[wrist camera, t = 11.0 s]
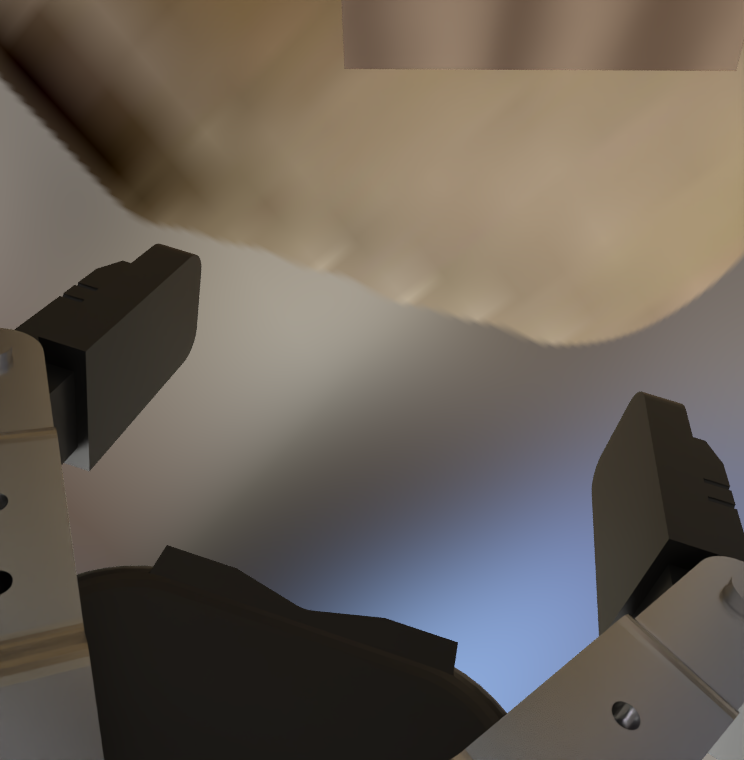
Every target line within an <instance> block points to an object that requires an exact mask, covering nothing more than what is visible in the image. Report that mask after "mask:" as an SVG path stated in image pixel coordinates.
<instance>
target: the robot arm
mask: <svg viewBox="0 0 744 760" xmlns="http://www.w3.org/2000/svg"><path fill="white" fill-rule="evenodd" d="M200 279H201V261H200V258H199V256H197V255H195V254H191V253H188V252H185V251H182V250H178V249H175V248H172V247H169V246H165V245H162V244H155V245H154V246H153V247H151V248H150V249H149V250H148V251H146V252H145V253H144V254H142V255H141V256H140V257H138V258H137V259H136V260H135V261H133V262H132V263H128V262H125V261H120V262H117V263H114V264H111V265H108V266H104V267H101V268H98V269H96V270H94V271H93V272H92V273H90V274H89V275H88V276H86V277H85V278H84V279H82V280H81V281H80V282H78V285H77V286H76V285H74V286H73V287H71V288H70V289H69V290H67V291H66V292H65V293H64V295H63V297H61V296H59V297H58V298H57V299H55V300H54V301H52V302H51V303H50V304H48V305H47V306H46V307H44V308H43V309H42V310H40V311H39V312H38V313H37V314H35V315H34V316H32V317H31V318H30V319H28V320H27V321H26V322H24V323H23V324H21V325H20V326H19V327H18V328H16V329H15V330H11V329H4V328H0V760H702V759H703V758H704V757H705V755H706V754H707V753H709V754H710V755H712V756H713V757H715V758H716V759H718V760H744V532H743V529H742V525H741V522H740V518H739V515H738V512H737V509H734V506H735V502H734V498H733V495H732V491H730V490H729V487H730V485H729V481H728V478H727V475H726V472H725V468H724V465H723V463H722V462H721V460H720V459H719V458H718V457H717V455H716V454H715V453H714V451H713V450H712V449H711V447H710V446H709V445H708V444H707V442H706V441H704V440H701V439H697V438H694V437H693V436H692V432H691V428H690V424H689V420H688V416H687V412H686V409H685V406H684V405H683V404H680V403H677V402H674V401H671V400H667V399H664V398H661V397H657V396H654V395H651V394H647V393H644V392H638V393H636V394H635V395H634V397H633V398H632V399H631V401H630V403H629V405H628V406H627V408H626V410H625V412H624V414H623V416H622V418H621V420H620V421H619V423H618V425H617V427H616V429H615V431H614V432H613V434H612V436H611V438H610V440H609V442H608V444H607V445H606V448H605V449H604V451H603V453H602V455H601V457H600V459H599V461H598V464H597V466H596V469H595V473H594V477H593V482H592V507H593V526H594V546H595V565H596V583H597V584H596V585H597V604H598V622H599V637H598V638H597V639H596V640H594V641H593V642H592V643H591V644H589V645H588V646H587V647H586V648H585V649H584V650H582V651H581V652H580V653H579V654H577V655H576V656H575V657H574V658H573V659H572V660H570V661H569V662H568V663H567V664H566V665H564V666H563V667H562V668H561V669H560V670H559V671H557V672H556V673H555V674H554V675H553V676H551V677H550V678H549V679H548V680H547V681H545V682H544V683H543V684H542V685H541V686H539V687H538V688H537V689H536V690H535V691H533V692H532V693H531V694H530V695H529V696H527V697H526V698H525V699H524V700H523V701H522V702H520V703H519V704H518V705H517V706H516V707H514V708H513V709H512V710H511V711H510V712H508V713H506V712H505V710H504V709H503V708H502V707H501V706H500V705H499V703H498V702H497V701H496V700H495V699H494V698H493V697H492V696H491V695H490V694H489V693H488V692H487V691H486V690H484V689H483V688H482V687H481V686H480V685H479V684H477V683H476V682H475V681H474V680H472V679H471V678H470V677H468V676H467V675H466V674H464V673H462V672H461V671H460V670H458V669H456V668H455V667H454V665H455V658H456V652H457V645H458V642H455V641H452V640H449V639H446V638H443V637H440V636H437V635H434V634H431V633H428V632H425V631H422V630H419V629H416V628H413V627H410V626H407V625H404V624H401V623H398V622H395V621H392V620H389V619H386V618H379V617H369V616H360V615H350V614H340V613H330V612H320V611H311V610H306V609H303V608H301V607H299V606H297V605H295V604H294V603H292V602H290V601H289V600H287V599H285V598H284V597H282V596H281V595H279V594H277V593H276V592H274V591H272V590H271V589H269V588H268V587H266V586H264V585H263V584H261V583H259V582H257V581H256V580H254V579H253V578H251V577H250V576H248V575H246V574H245V573H243V572H242V571H240V570H238V569H237V568H233V567H231V566H227V565H224V564H222V563H219V562H216V561H212V560H210V559H207V558H204V557H201V556H198V555H194V554H192V553H189V552H186V551H183V550H180V549H177V548H174V547H171V546H168V545H167V546H166V547H165V549H164V551H163V552H162V554H161V555H160V557H159V558H158V560H157V562H156V563H155V565H154V566H119V567H108V568H103V569H97V570H93V571H88V572H84V573H81V574H78V575H77V574H76V567H75V560H74V552H73V546H72V538H71V531H70V523H69V516H68V509H67V502H66V495H65V487H64V480H63V473H62V464H63V463H66V464H69V465H72V466H75V467H78V468H81V469H84V470H87V471H90V470H91V469H92V468H93V467H94V465H95V464H96V463H97V462H98V461H99V460H100V459H101V457H102V456H103V455H104V454H105V453H106V451H107V450H108V449H109V448H110V447H111V446H112V445H113V443H114V442H115V441H116V440H117V439H118V438H119V437H120V435H121V434H122V433H123V432H124V431H125V430H126V428H127V427H128V426H129V425H130V424H131V423H132V421H133V420H134V419H135V418H136V417H137V415H138V414H139V413H140V412H141V411H142V410H143V409H144V408H145V406H146V405H147V404H148V403H149V402H150V401H151V399H152V398H153V397H154V396H155V395H156V394H157V393H158V391H159V390H160V389H161V388H162V386H164V384H165V383H166V382H167V381H168V380H169V379H170V377H171V376H172V375H173V374H174V373H175V372H176V370H177V369H178V368H179V367H180V366H181V365H182V363H183V362H184V361H185V360H186V358H187V357H188V355H189V353H190V351H191V348H192V346H193V343H194V339H195V336H196V330H197V317H198V305H199V292H200Z"/></svg>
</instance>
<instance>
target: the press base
mask: <svg viewBox="0 0 744 760" xmlns="http://www.w3.org/2000/svg"><path fill="white" fill-rule="evenodd" d="M342 21H343V43H344V66H345V69H486V70H681V71H737V67H738V62H739V58H740V54H741V50H742V45H743V41H744V0H342Z"/></svg>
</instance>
